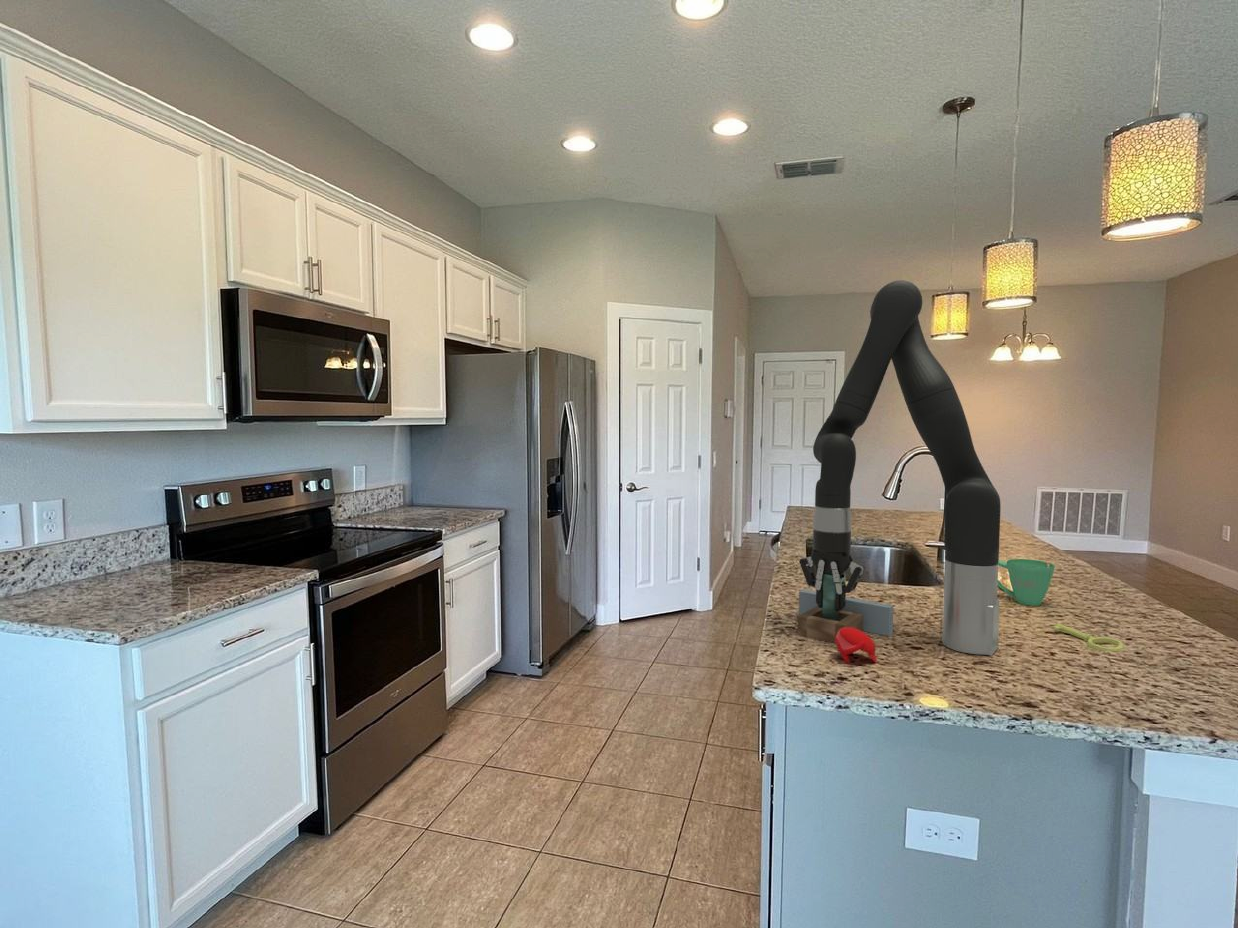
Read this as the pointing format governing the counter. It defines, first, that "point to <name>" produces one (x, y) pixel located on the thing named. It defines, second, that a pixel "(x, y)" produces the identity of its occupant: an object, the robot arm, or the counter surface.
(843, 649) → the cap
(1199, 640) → the counter surface
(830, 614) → the dowel
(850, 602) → the wall
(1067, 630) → the key
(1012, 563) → the mug
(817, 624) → the holed block
